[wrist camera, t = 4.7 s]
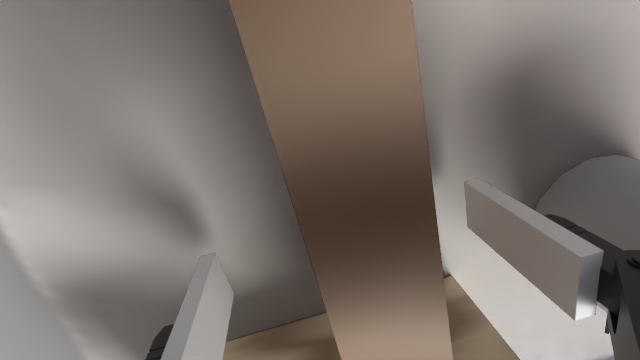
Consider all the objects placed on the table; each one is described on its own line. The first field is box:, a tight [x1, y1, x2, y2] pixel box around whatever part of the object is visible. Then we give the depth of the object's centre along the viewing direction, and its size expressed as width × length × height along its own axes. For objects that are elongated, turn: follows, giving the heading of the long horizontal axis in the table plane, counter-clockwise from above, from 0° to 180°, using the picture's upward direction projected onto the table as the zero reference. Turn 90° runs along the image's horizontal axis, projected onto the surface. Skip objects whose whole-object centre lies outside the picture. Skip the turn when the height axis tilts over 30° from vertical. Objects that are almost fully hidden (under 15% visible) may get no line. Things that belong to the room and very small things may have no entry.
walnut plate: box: [228, 0, 453, 360], centre depth 11 cm, size 18×3×10 cm, turn 14°
